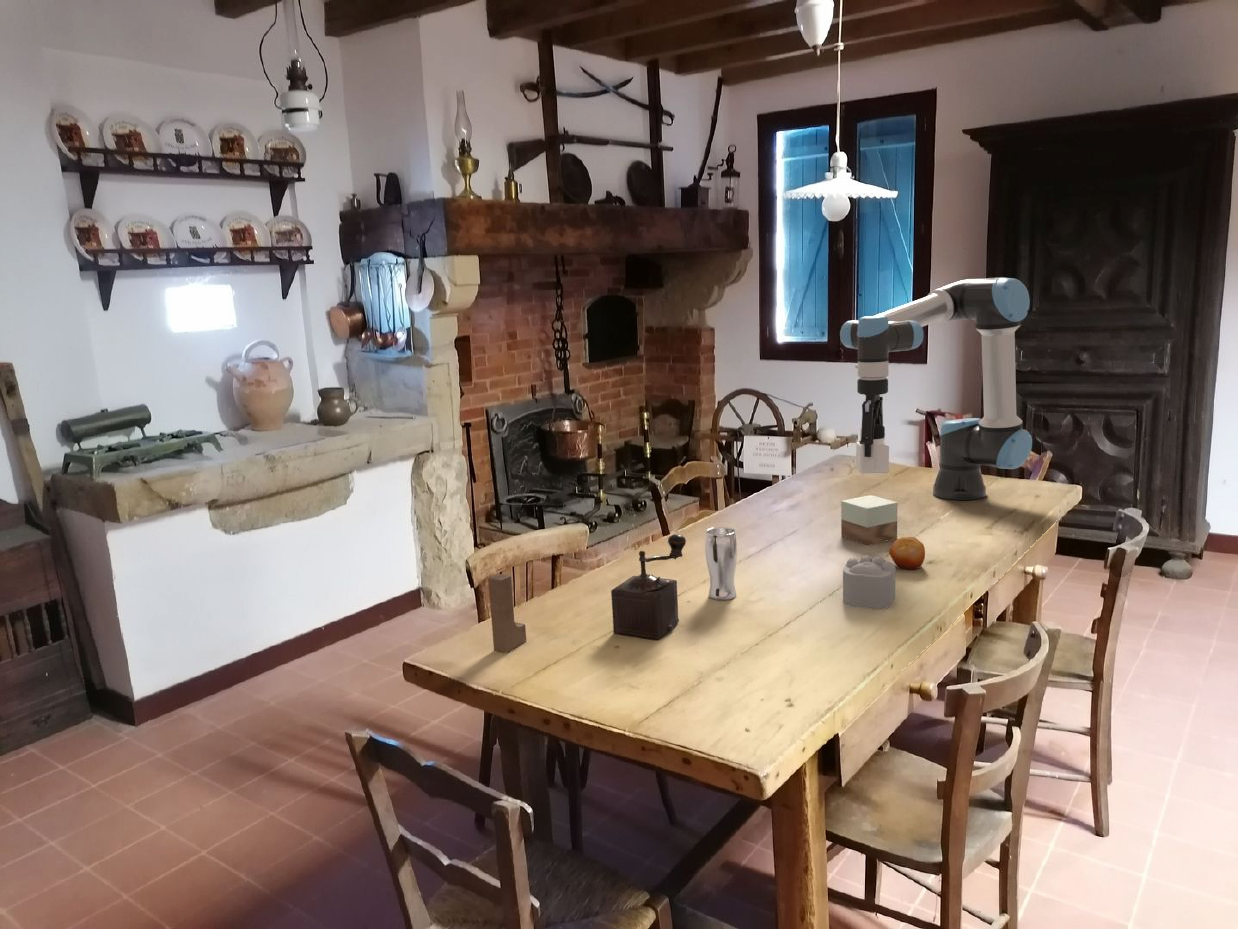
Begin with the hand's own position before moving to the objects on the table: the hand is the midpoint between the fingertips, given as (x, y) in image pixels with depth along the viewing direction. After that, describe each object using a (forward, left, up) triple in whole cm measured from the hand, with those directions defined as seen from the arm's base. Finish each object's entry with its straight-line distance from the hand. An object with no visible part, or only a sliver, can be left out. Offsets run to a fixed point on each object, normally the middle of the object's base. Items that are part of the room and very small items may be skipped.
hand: (872, 465), depth 237 cm
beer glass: (+56, +12, -20) cm, 61 cm away
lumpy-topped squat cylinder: (+32, +32, -20) cm, 49 cm away
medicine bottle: (0, 0, -2) cm, 2 cm away
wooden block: (+106, +10, -20) cm, 109 cm away
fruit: (+10, +22, -20) cm, 32 cm away
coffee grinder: (+77, +17, -20) cm, 82 cm away
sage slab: (0, -1, -15) cm, 15 cm away
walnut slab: (0, -1, -20) cm, 20 cm away
